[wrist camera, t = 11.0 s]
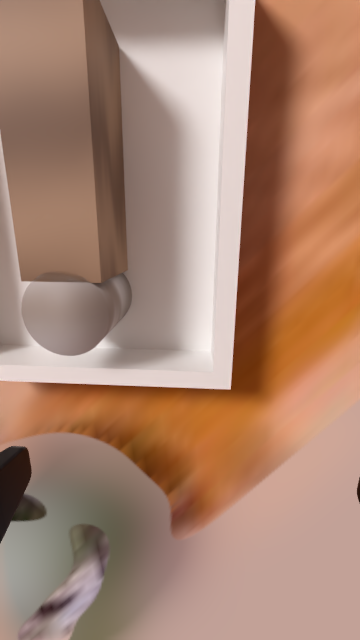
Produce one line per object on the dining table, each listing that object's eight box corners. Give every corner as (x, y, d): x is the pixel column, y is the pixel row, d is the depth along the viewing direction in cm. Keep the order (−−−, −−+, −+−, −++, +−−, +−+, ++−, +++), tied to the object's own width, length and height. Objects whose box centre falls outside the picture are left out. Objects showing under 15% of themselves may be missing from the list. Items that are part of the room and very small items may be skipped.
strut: (133, 325, 18) (110, 357, 14) (71, 324, 19) (27, 354, 14) (123, 46, 14) (85, -48, 10) (44, 48, 15) (-30, -43, 10)
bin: (245, -18, 14) (262, -111, 10) (224, 359, 20) (230, 389, 16) (-66, -6, 15) (-156, -87, 11) (-3, 352, 21) (-49, 378, 17)
